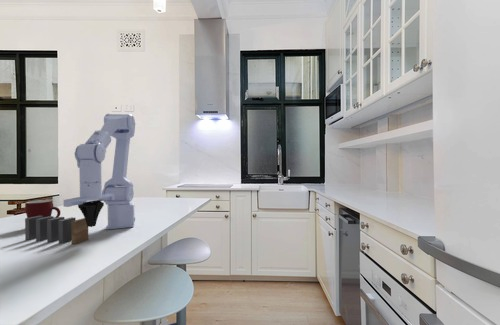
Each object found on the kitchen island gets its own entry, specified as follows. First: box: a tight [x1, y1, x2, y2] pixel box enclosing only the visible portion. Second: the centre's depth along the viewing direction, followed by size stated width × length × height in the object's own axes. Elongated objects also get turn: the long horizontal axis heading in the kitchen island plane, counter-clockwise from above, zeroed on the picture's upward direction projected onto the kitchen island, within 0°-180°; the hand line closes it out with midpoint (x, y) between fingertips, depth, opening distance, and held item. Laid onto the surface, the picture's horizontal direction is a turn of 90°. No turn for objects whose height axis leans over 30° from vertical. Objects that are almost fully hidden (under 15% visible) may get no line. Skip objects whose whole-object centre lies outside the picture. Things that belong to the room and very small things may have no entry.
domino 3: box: [46, 216, 65, 243], centre depth 80 cm, size 2×4×7 cm, turn 167°
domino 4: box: [58, 216, 77, 244], centre depth 79 cm, size 2×4×7 cm, turn 167°
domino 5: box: [71, 217, 89, 245], centre depth 78 cm, size 2×4×7 cm, turn 167°
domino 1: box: [24, 216, 43, 241], centre depth 82 cm, size 2×4×7 cm, turn 167°
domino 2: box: [35, 215, 55, 242], centre depth 81 cm, size 2×4×7 cm, turn 167°
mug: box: [24, 199, 61, 218], centre depth 96 cm, size 10×8×10 cm
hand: (91, 226), depth 77 cm, fingers closed
